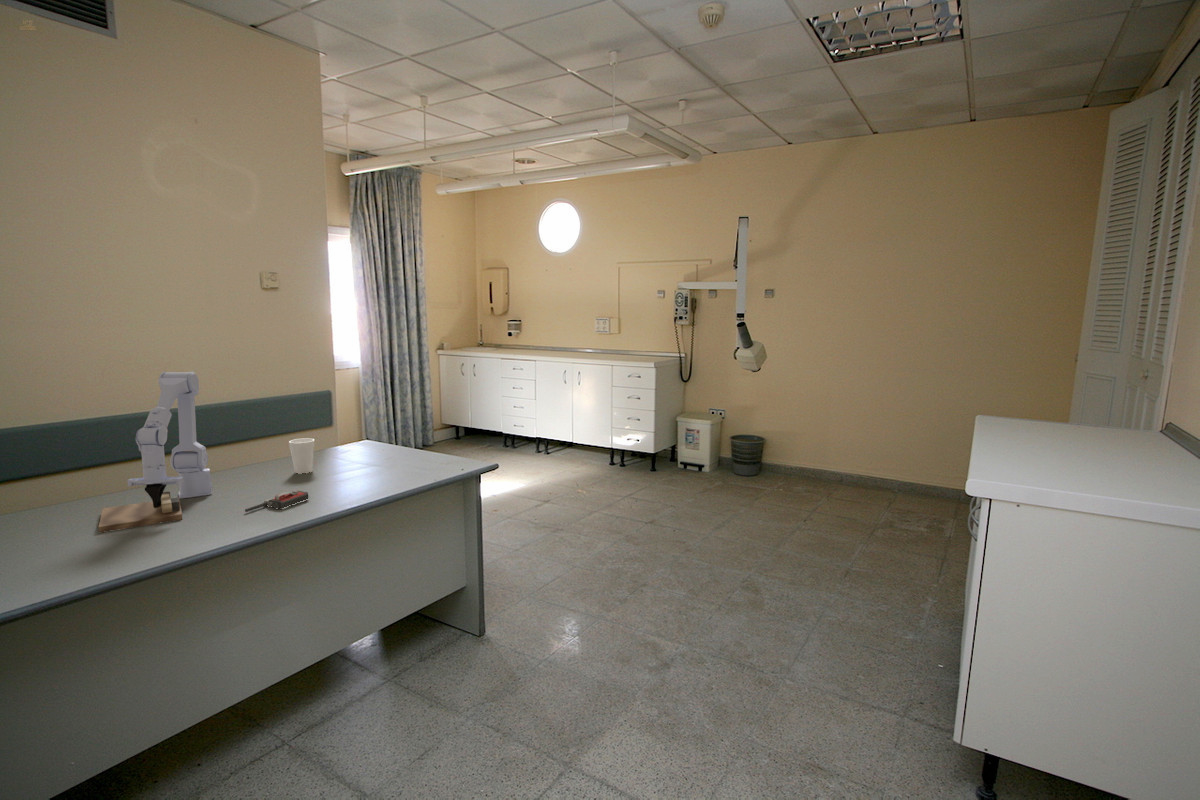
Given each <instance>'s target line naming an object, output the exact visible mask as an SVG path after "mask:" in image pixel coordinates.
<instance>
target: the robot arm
mask: <svg viewBox="0 0 1200 800" xmlns="http://www.w3.org/2000/svg"><path fill="white" fill-rule="evenodd" d="M158 385H159V389H160V393H159V397H158V400H157V404H156V407H153V408H151V409H150V410H149V413H148V415H147V418H146V420H145V423H144V425H143V427H141V428H140V429H138V430H137V431H136V434H135V443H136V445H137V446H138V451H139V452H140V453H141V454H140V455H141V464H142V474H143V476H142V477H137V478H129V479H127V481H126V482H127V483H126V484H127V487H133V486H145V487H144V491H145V492H146V493H147V494H148V496H149V498H150V499H151V501H153V506H154V508H158V507H160V506H161V496H162V493H163V492H165V489H166V487H167V485H176V486H177V485H179V488H178V489H179V491H178V492H177V493H178V498H179V499H180V500H181V499H188V498H189V499H190V498H196V497H202V496H203V497H204V496H208V495H212V493H213V492H212V488H213V484H212V481H211V469H210V468H209V467H207V465H208V463H209V456H208V453H207V448H206V446H205V445H203V444H201V443H200V442H198V441H197V423H196V420H197V419H196V398H195V396H197V395H199V393H200V379H199V377H198V375H197V373H195V372H194V371H187V372H182V371H179V372H177V371H176V372H175V371H171V372H167V371H163V372H161V373H160V375H159V377H158ZM176 400H177V416H178V419H177V420H178V441H179V444H177V445H176V446H174V447H173V448H172V449H171V455H170V460H169V462H170V467H171V468H172V470H175V472H176V473H177V475H178V476H169V475H167V468H166V458H165V446H164V445H165V444H166V442H167V440H168V432H169V430H168V426H169V423H170V421H171V419H172V416H173V414H172V412H171V411H170V410H171V408H172V407H173V405H174V403H175V401H176ZM206 467H207V468H206Z"/></svg>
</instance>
